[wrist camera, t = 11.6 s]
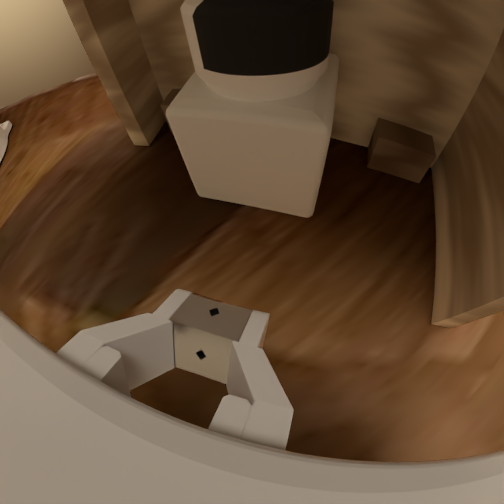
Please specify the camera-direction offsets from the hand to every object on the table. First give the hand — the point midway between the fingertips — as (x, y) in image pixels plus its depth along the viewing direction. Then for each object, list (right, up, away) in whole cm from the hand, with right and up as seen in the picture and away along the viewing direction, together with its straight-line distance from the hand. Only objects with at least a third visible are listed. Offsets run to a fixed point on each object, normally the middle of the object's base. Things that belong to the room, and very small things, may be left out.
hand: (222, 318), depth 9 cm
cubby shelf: (+3, +6, +8) cm, 11 cm away
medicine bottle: (+2, +8, +9) cm, 12 cm away
